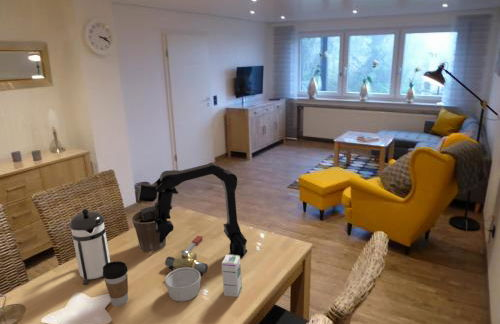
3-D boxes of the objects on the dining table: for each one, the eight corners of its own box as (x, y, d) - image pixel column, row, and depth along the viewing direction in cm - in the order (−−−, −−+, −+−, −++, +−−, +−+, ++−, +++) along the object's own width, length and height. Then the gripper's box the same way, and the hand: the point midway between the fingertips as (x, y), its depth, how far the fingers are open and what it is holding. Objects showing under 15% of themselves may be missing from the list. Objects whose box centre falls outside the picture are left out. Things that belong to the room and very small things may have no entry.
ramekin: (182, 278, 143) (181, 263, 141) (208, 288, 137) (207, 272, 135) (159, 297, 132) (157, 281, 130) (186, 308, 126) (185, 292, 124)
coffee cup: (111, 294, 134) (106, 260, 130) (134, 292, 135) (129, 258, 131) (104, 309, 126) (98, 273, 122) (128, 307, 127) (123, 272, 123)
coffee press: (124, 266, 152) (114, 202, 144) (98, 288, 138) (86, 219, 129) (91, 260, 158) (80, 198, 149) (63, 281, 143) (49, 214, 134)
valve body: (209, 270, 148) (208, 255, 146) (202, 278, 143) (201, 263, 141) (172, 262, 154) (170, 248, 152) (164, 270, 149) (162, 256, 147)
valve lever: (186, 257, 144) (186, 253, 144) (180, 256, 145) (179, 252, 145) (203, 240, 158) (203, 236, 157) (197, 239, 159) (196, 235, 158)
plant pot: (127, 251, 164) (123, 219, 160) (149, 235, 179) (145, 206, 174) (156, 257, 159) (152, 225, 154) (176, 240, 173) (173, 210, 168)
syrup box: (238, 297, 131) (237, 263, 127) (223, 295, 132) (221, 262, 128) (241, 288, 136) (240, 255, 132) (227, 286, 137) (225, 253, 133)
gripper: (141, 193, 147) (136, 227, 150) (146, 210, 130) (141, 248, 133) (167, 194, 151) (162, 227, 155) (176, 211, 135) (170, 248, 138)
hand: (158, 237), depth 145 cm, fingers open, 9 cm apart
